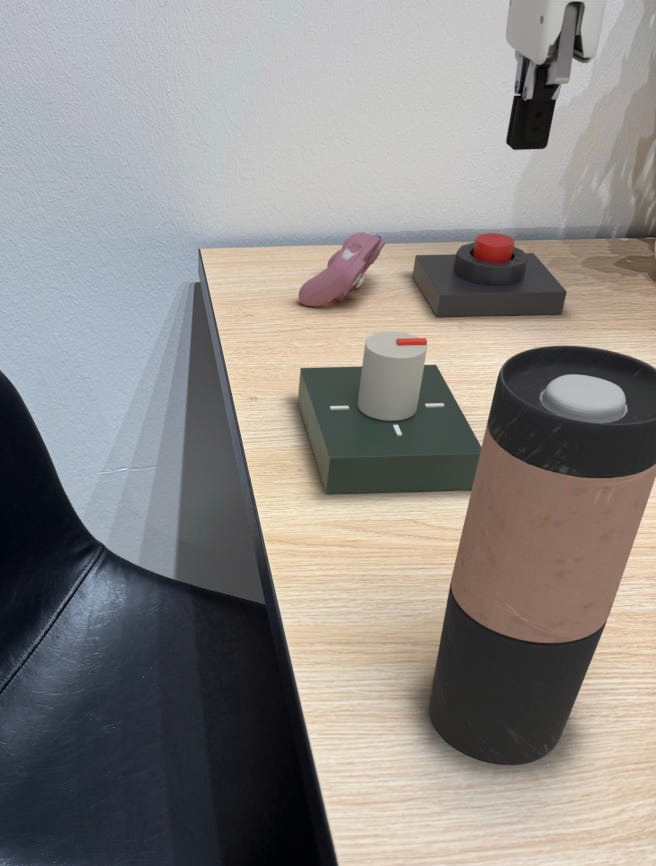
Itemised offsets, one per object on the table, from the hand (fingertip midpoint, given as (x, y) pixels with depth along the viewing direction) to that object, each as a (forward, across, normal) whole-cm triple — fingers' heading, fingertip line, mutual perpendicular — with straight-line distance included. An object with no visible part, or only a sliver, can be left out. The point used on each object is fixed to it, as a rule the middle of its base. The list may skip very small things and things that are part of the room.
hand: (525, 146), depth 92 cm
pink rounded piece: (+14, +3, +15) cm, 20 cm away
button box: (+14, +2, +1) cm, 14 cm away
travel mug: (+15, -56, +16) cm, 61 cm away
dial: (+11, -26, +17) cm, 33 cm away
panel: (+14, -26, +17) cm, 34 cm away
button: (+10, +2, +1) cm, 11 cm away
